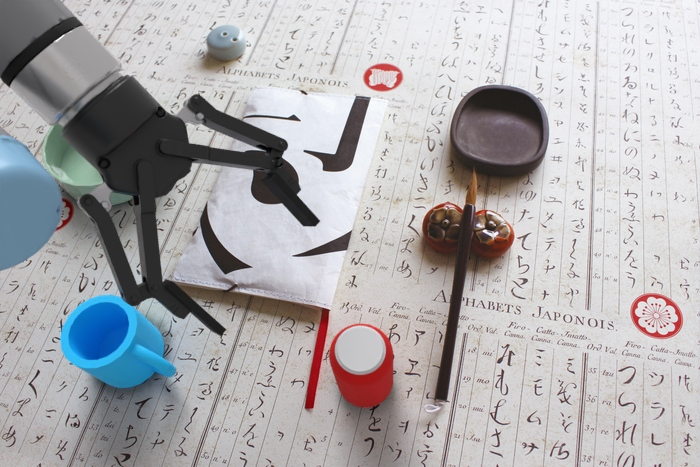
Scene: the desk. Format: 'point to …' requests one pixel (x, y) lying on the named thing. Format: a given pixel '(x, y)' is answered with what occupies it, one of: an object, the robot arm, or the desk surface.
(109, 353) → the mug
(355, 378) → the beverage can
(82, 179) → the bowl
